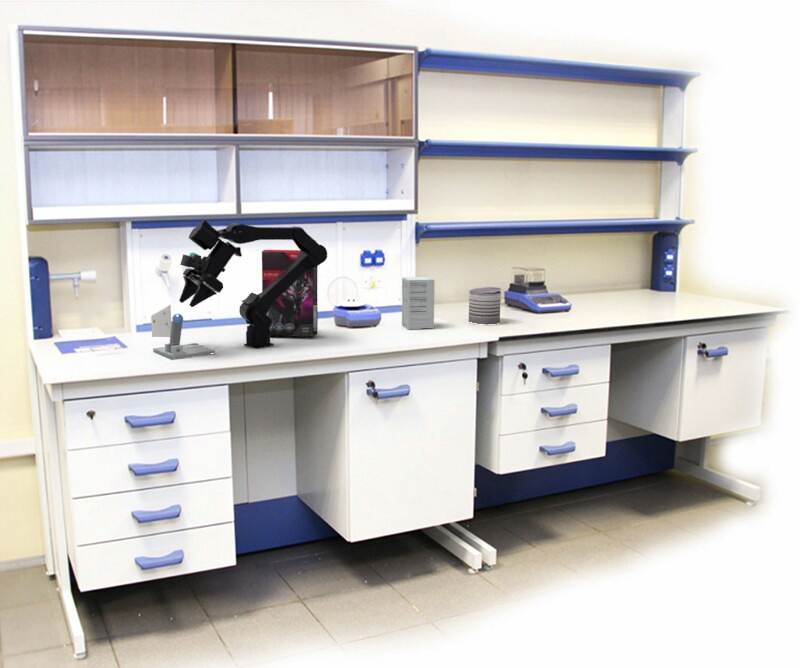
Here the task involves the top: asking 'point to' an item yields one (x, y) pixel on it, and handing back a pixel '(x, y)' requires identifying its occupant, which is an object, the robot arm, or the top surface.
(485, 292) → the can
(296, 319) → the graphics card box
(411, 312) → the supplement box
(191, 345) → the switch panel
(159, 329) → the grey plate
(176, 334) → the lever
